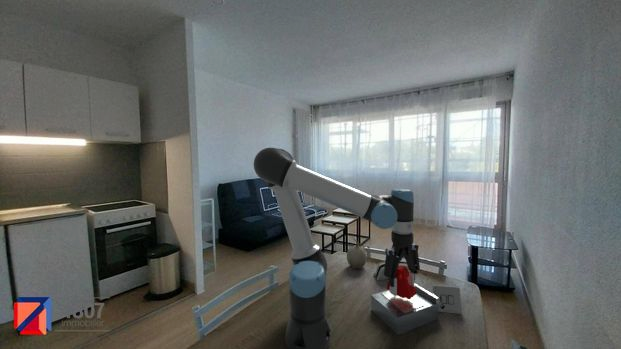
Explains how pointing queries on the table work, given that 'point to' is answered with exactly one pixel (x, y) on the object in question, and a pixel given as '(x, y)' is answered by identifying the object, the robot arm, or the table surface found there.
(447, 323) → the table surface
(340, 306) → the table surface
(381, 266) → the grey curved slab
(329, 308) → the table surface
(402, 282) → the bracket
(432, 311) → the grey ridged box
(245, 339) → the table surface
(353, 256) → the fruit
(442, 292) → the electrical switch
